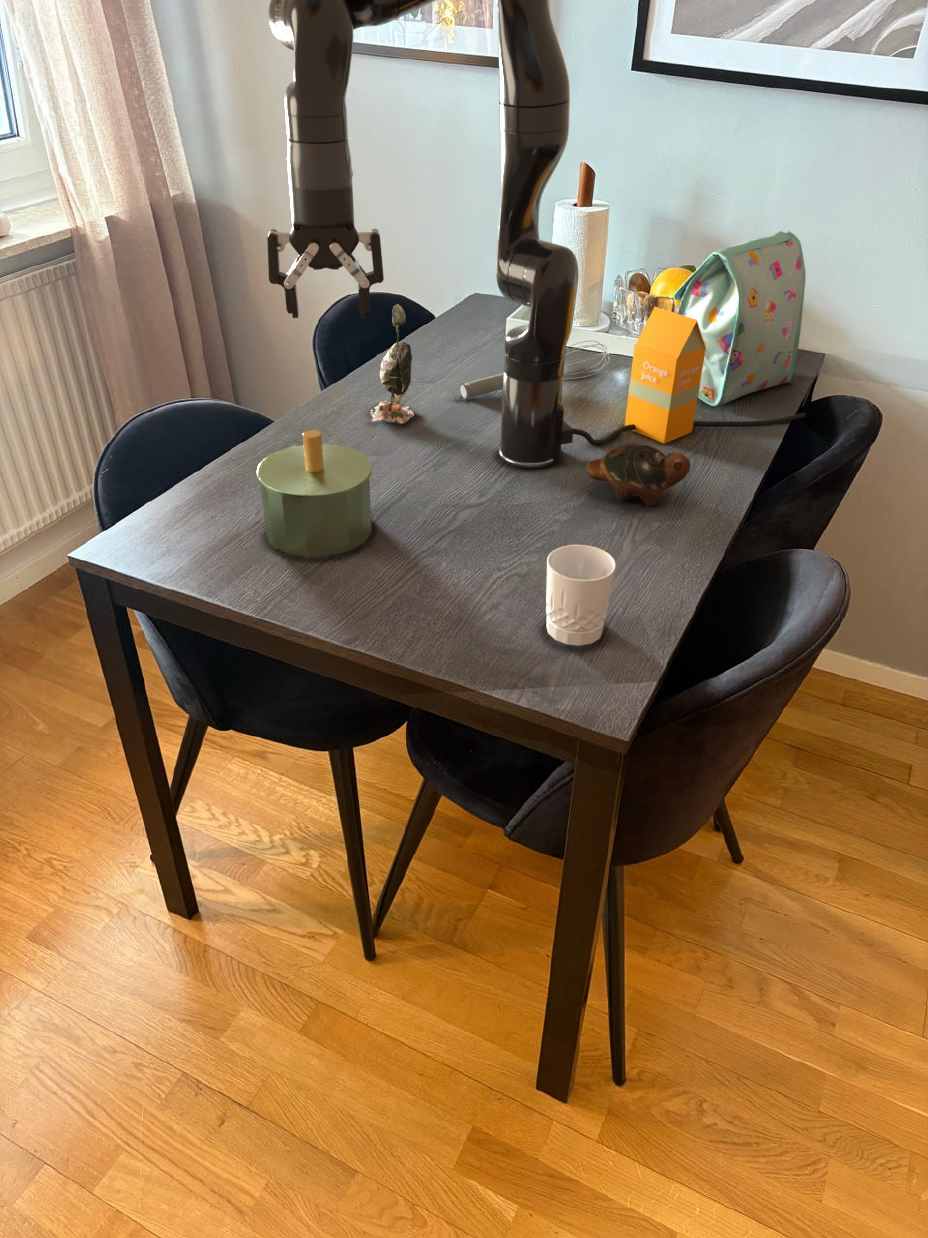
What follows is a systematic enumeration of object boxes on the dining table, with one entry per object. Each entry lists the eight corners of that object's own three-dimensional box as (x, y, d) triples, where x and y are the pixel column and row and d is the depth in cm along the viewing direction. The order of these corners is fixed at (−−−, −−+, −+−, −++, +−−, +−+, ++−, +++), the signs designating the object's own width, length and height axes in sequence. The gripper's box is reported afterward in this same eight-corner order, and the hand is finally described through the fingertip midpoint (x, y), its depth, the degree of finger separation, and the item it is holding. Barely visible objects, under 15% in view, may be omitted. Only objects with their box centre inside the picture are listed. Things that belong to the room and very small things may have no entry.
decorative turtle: (684, 516, 139) (688, 467, 134) (581, 507, 143) (581, 459, 138) (690, 484, 147) (694, 436, 142) (592, 476, 150) (593, 429, 146)
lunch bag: (730, 359, 192) (756, 218, 176) (799, 385, 182) (833, 237, 166) (652, 385, 180) (673, 236, 164) (722, 414, 170) (751, 257, 154)
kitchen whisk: (444, 394, 175) (445, 361, 171) (595, 365, 189) (599, 334, 185) (461, 406, 170) (461, 372, 167) (614, 376, 184) (618, 344, 181)
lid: (370, 449, 135) (368, 408, 132) (373, 500, 123) (371, 457, 120) (261, 452, 134) (257, 411, 130) (253, 504, 122) (248, 461, 118)
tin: (370, 506, 140) (367, 446, 135) (372, 557, 129) (370, 495, 123) (270, 509, 139) (264, 449, 133) (264, 562, 127) (256, 498, 122)
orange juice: (663, 443, 159) (681, 324, 148) (623, 426, 165) (638, 310, 153) (692, 431, 164) (712, 314, 152) (652, 415, 169) (669, 301, 157)
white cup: (537, 614, 119) (542, 545, 113) (599, 612, 119) (608, 543, 113) (547, 653, 112) (553, 581, 106) (613, 650, 113) (622, 579, 107)
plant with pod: (427, 406, 171) (426, 292, 159) (402, 430, 162) (399, 312, 150) (385, 399, 173) (381, 286, 161) (358, 423, 164) (352, 306, 152)
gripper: (257, 187, 110) (271, 326, 120) (381, 186, 112) (385, 324, 121) (262, 173, 116) (275, 307, 126) (379, 173, 118) (383, 306, 127)
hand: (329, 315), depth 123 cm, fingers open, 8 cm apart
